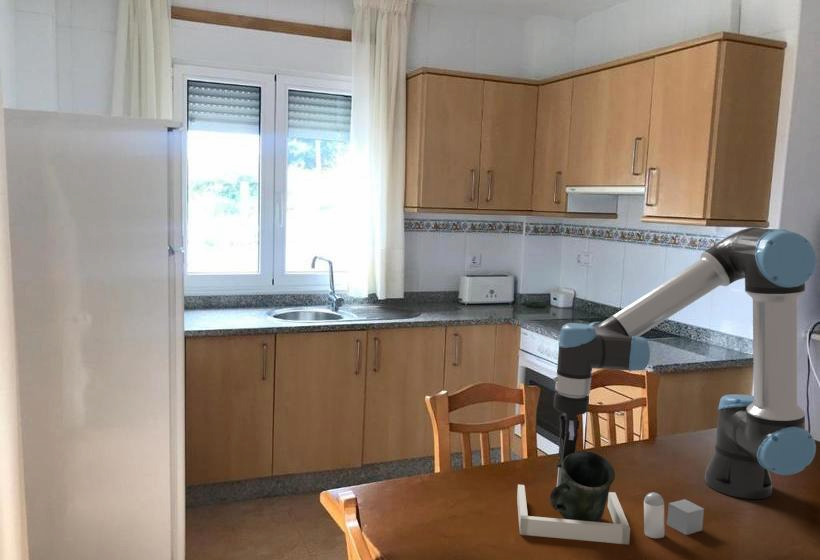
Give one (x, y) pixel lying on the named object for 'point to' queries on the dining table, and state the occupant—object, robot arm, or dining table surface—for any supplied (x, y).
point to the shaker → (653, 516)
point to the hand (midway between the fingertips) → (562, 492)
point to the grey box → (685, 516)
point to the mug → (583, 487)
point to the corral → (575, 524)
